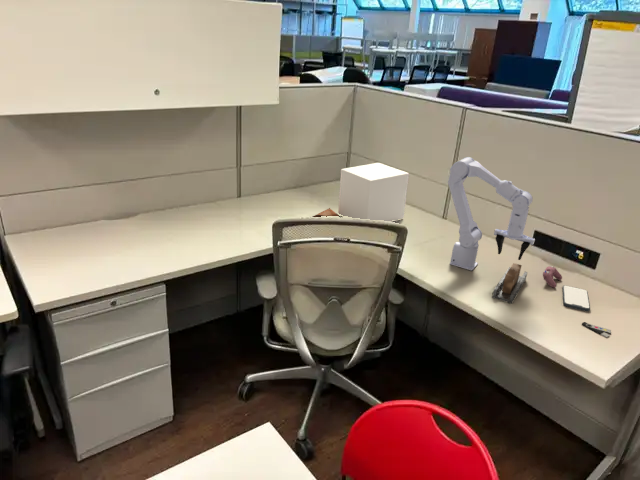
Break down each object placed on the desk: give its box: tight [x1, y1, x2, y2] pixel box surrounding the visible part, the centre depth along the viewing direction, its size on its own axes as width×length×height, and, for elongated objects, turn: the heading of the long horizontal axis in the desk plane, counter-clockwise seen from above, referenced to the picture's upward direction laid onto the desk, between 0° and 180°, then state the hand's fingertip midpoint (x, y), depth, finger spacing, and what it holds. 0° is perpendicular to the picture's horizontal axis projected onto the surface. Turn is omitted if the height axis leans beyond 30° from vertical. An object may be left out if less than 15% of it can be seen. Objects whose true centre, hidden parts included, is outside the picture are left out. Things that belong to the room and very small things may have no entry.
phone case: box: [561, 285, 591, 313], centre depth 180 cm, size 9×2×16 cm
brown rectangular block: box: [502, 262, 523, 294], centre depth 183 cm, size 3×12×7 cm, turn 147°
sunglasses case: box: [311, 207, 339, 217], centre depth 240 cm, size 18×7×7 cm
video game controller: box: [542, 265, 563, 289], centre depth 190 cm, size 10×5×7 cm, turn 141°
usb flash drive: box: [581, 321, 612, 338], centre depth 162 cm, size 9×5×1 cm, turn 33°
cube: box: [337, 162, 410, 221], centre depth 241 cm, size 25×21×24 cm
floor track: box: [492, 266, 529, 304], centre depth 184 cm, size 7×22×4 cm, turn 147°
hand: (509, 256), depth 189 cm, fingers open, 7 cm apart
